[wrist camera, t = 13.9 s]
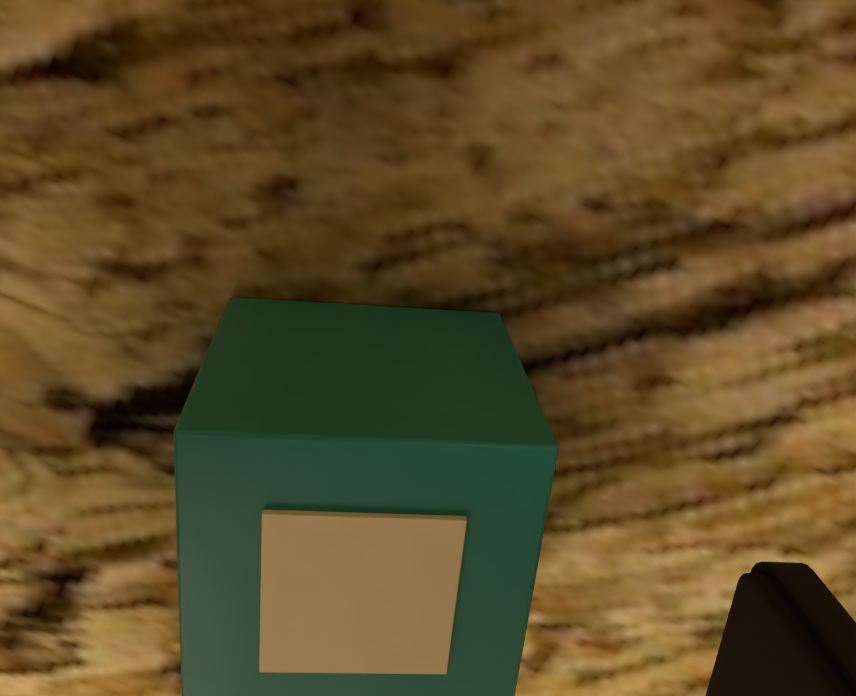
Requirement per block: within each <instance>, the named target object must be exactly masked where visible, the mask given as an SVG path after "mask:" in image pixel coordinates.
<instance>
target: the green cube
mask: <svg viewBox="0 0 856 696" xmlns="http://www.w3.org/2000/svg"><path fill="white" fill-rule="evenodd" d="M173 439H174V470H175V501H176V532H177V563H178V594H179V625H180V656H181V687H182V696H515V691H516V685H517V679H518V674H519V668H520V662H521V657H522V651H523V646H524V640H525V634H526V629H527V623H528V617H529V612H530V606H531V601H532V595H533V589H534V584H535V578H536V572H537V567H538V561H539V556H540V550H541V544H542V539H543V533H544V528H545V522H546V516H547V511H548V505H549V499H550V494H551V488H552V483H553V477H554V471H555V466H556V460H557V454H558V449H559V448H558V444H557V442H556V440H555V438H554V435H553V433H552V431H551V429H550V426H549V424H548V422H547V420H546V417H545V415H544V413H543V411H542V408H541V406H540V404H539V402H538V400H537V397H536V395H535V393H534V391H533V388H532V386H531V384H530V382H529V379H528V377H527V375H526V373H525V370H524V368H523V366H522V364H521V361H520V359H519V357H518V355H517V352H516V350H515V348H514V346H513V343H512V341H511V339H510V337H509V334H508V332H507V330H506V328H505V325H504V323H503V321H502V319H501V316H500V314H498V313H491V312H474V311H457V310H440V309H424V308H407V307H390V306H373V305H356V304H340V303H323V302H306V301H289V300H272V299H256V298H239V297H231V298H229V300H228V303H227V305H226V307H225V310H224V312H223V315H222V317H221V319H220V322H219V324H218V327H217V329H216V331H215V334H214V336H213V339H212V341H211V343H210V346H209V348H208V350H207V353H206V355H205V358H204V360H203V362H202V365H201V367H200V370H199V372H198V374H197V377H196V379H195V381H194V384H193V386H192V389H191V391H190V393H189V396H188V398H187V401H186V403H185V405H184V408H183V410H182V412H181V415H180V417H179V420H178V422H177V424H176V427H175V429H174V432H173Z"/></svg>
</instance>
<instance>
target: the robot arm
mask: <svg viewBox="0 0 856 696" xmlns="http://www.w3.org/2000/svg"><path fill="white" fill-rule="evenodd" d="M706 696H856V622H855V621H854V620H853V619H852V617H851V616H850V615H849V614H848V613H847V611H846V610H845V609H844V608H843V606H842V605H841V604H840V603H839V602H838V600H837V599H836V598H835V597H834V595H833V594H832V593H831V592H830V591H829V589H828V588H827V587H826V586H825V584H824V583H823V582H822V581H821V579H820V578H819V577H818V576H817V575H816V573H815V572H814V571H813V570H812V569H811V568H810V567H809V566H808V565H806V564H803V563H784V562H760V563H756V565H755V566H754V567H753V568H752V570H751V572H750V573H745V574H743V575H742V576H741V577H740V579H739V581H738V583H737V587H736V591H735V594H734V598H733V601H732V605H731V608H730V612H729V615H728V619H727V622H726V626H725V630H724V633H723V637H722V640H721V644H720V647H719V651H718V654H717V658H716V661H715V665H714V669H713V672H712V676H711V679H710V683H709V686H708V690H707V693H706Z"/></svg>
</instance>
